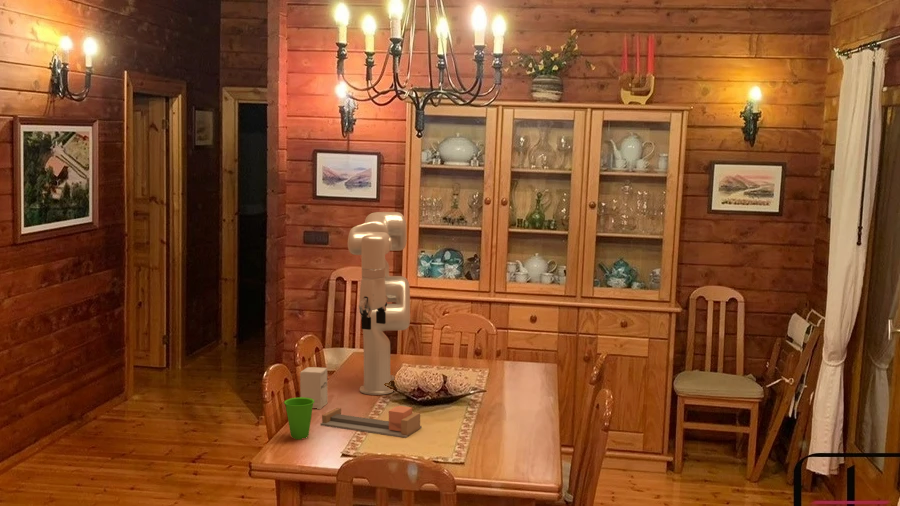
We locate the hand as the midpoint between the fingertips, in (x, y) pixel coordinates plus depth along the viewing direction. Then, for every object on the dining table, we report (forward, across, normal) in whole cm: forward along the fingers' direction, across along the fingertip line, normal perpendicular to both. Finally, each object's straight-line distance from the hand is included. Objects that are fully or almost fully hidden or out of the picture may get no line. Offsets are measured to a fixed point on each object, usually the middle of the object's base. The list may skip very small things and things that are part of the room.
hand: (373, 326), depth 293 cm
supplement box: (+30, -2, -24) cm, 39 cm away
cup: (+30, +28, -10) cm, 42 cm away
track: (+30, +10, +4) cm, 32 cm away
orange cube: (+30, +10, +15) cm, 35 cm away
